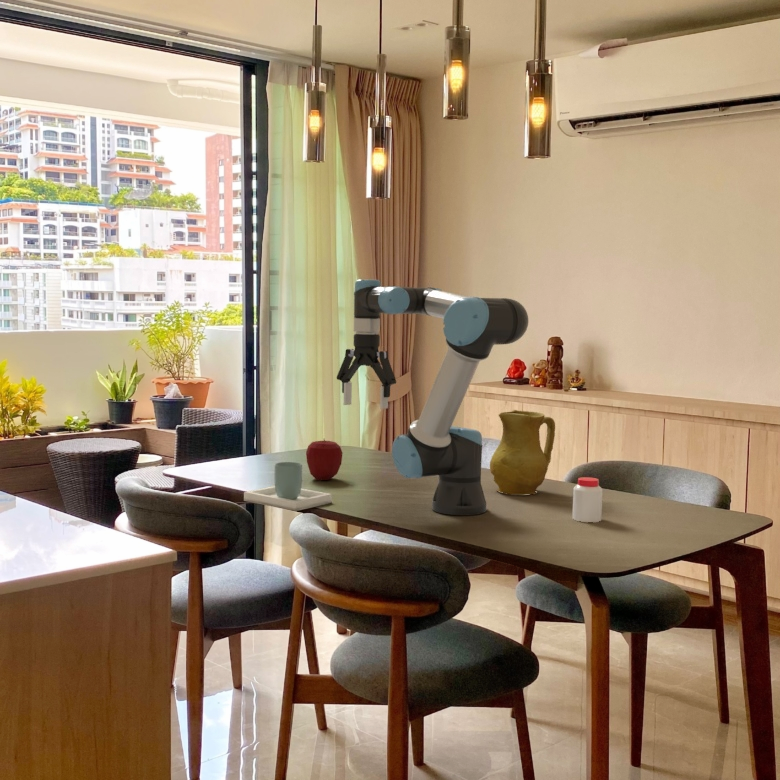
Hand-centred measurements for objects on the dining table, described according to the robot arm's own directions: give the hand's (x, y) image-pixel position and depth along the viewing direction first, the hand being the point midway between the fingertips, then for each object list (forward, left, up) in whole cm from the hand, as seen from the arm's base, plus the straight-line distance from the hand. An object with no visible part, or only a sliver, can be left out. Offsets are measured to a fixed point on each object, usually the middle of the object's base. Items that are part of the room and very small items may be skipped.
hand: (365, 406), depth 284 cm
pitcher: (-30, -39, -27) cm, 56 cm away
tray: (+12, +19, -27) cm, 35 cm away
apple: (+27, -13, -27) cm, 40 cm away
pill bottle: (-62, -19, -27) cm, 70 cm away
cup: (+12, +19, -26) cm, 35 cm away
